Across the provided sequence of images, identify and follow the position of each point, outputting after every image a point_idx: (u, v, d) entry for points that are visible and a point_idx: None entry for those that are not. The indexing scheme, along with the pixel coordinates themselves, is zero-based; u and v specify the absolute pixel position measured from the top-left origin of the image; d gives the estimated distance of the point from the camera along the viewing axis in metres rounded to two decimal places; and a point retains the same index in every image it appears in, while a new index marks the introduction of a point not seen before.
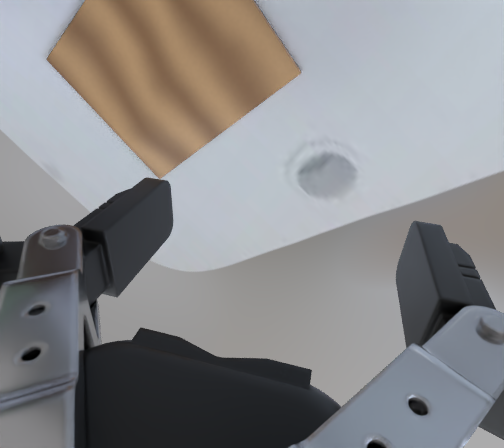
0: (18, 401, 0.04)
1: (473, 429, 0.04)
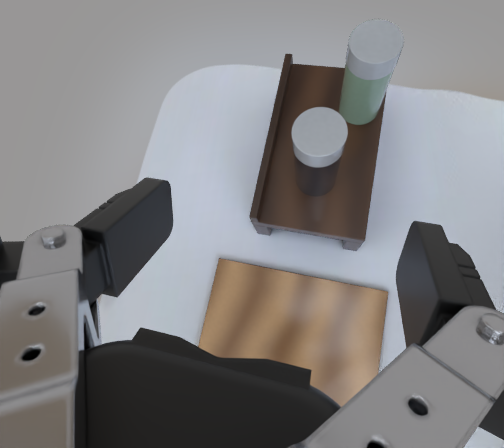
0: (18, 401, 0.04)
1: (473, 429, 0.04)
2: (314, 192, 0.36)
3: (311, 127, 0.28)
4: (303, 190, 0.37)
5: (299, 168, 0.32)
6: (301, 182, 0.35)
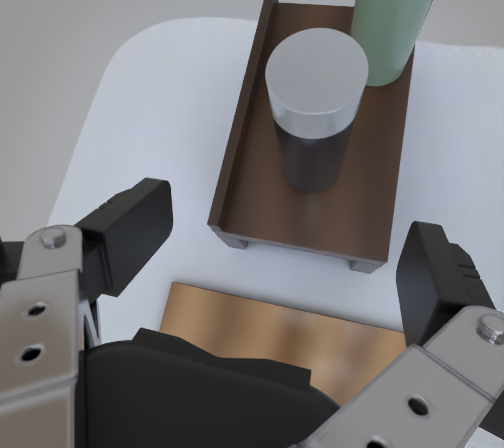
0: (18, 401, 0.04)
1: (473, 429, 0.04)
2: (309, 186, 0.23)
3: (301, 63, 0.16)
4: (291, 183, 0.24)
5: (282, 144, 0.19)
6: (287, 170, 0.22)
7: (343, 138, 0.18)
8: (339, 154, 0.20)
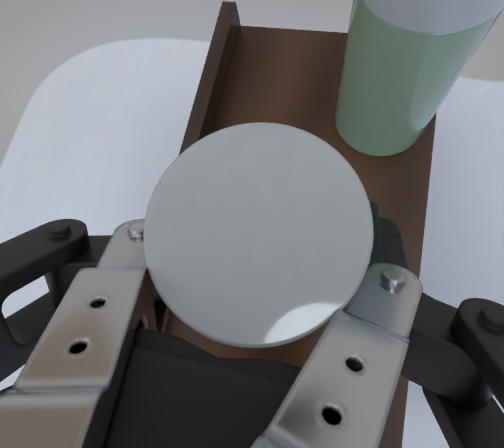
0: (48, 396, 0.04)
1: (399, 369, 0.05)
2: None
3: (221, 206, 0.07)
4: None
5: None
6: None
7: None
8: None
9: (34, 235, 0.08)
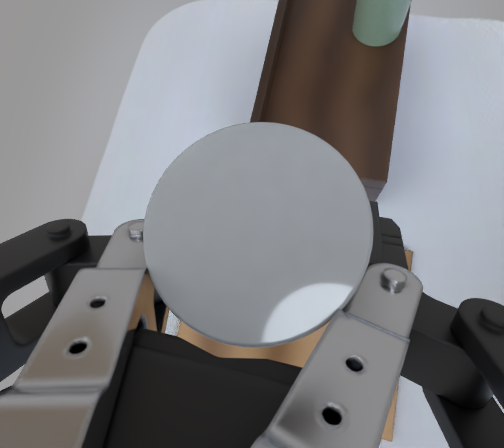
0: (48, 396, 0.04)
1: (399, 369, 0.05)
2: None
3: (221, 206, 0.07)
4: None
5: None
6: None
7: None
8: None
9: (34, 235, 0.08)
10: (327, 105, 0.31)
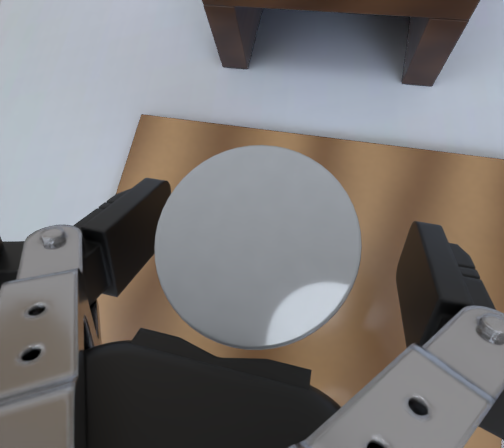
0: (18, 401, 0.04)
1: (473, 429, 0.04)
2: None
3: (224, 222, 0.08)
4: None
5: None
6: None
7: None
8: None
9: None
10: None
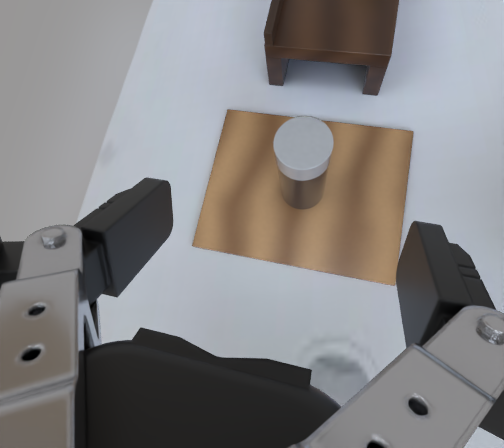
0: (18, 401, 0.04)
1: (473, 429, 0.04)
2: (301, 205, 0.34)
3: (294, 138, 0.26)
4: (289, 203, 0.35)
5: (283, 180, 0.30)
6: (286, 195, 0.33)
7: (321, 178, 0.29)
8: (319, 186, 0.31)
9: None
10: None
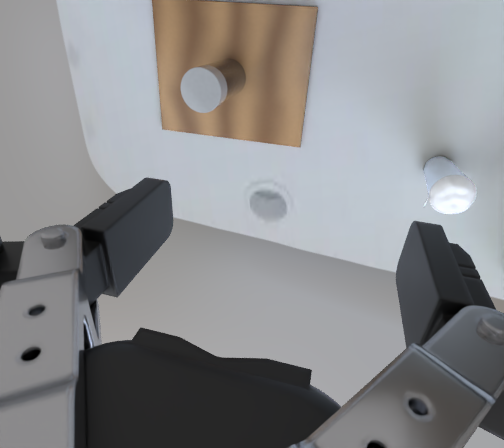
0: (18, 401, 0.04)
1: (473, 429, 0.04)
2: None
3: (194, 87, 0.36)
4: None
5: None
6: None
7: (226, 99, 0.39)
8: (231, 96, 0.41)
9: None
10: None
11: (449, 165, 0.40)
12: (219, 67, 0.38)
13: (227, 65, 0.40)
